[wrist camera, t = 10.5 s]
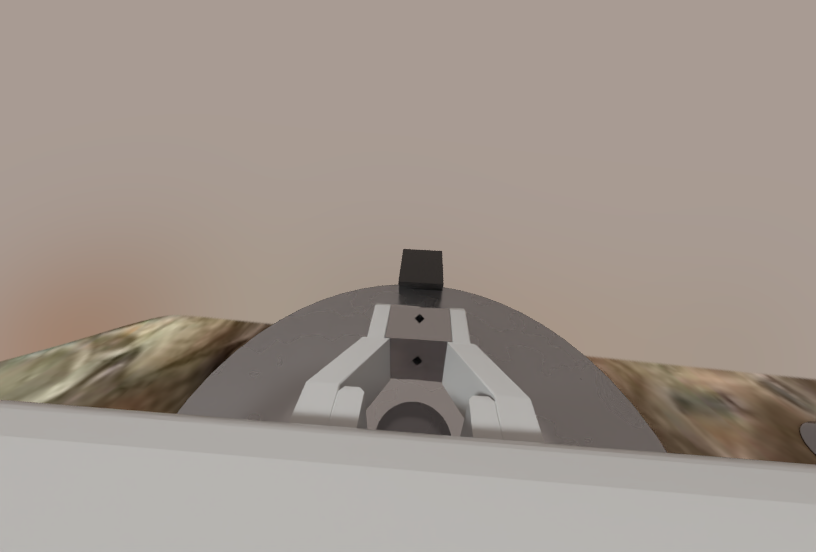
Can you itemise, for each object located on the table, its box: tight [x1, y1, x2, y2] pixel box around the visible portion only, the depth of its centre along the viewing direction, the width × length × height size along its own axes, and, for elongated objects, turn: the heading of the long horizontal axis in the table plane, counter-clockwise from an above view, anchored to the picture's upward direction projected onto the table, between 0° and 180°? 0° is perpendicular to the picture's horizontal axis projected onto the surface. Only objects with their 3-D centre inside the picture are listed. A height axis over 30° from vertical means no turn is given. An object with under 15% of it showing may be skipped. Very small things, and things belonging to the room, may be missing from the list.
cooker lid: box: [177, 249, 667, 453], centre depth 13 cm, size 21×24×2 cm
